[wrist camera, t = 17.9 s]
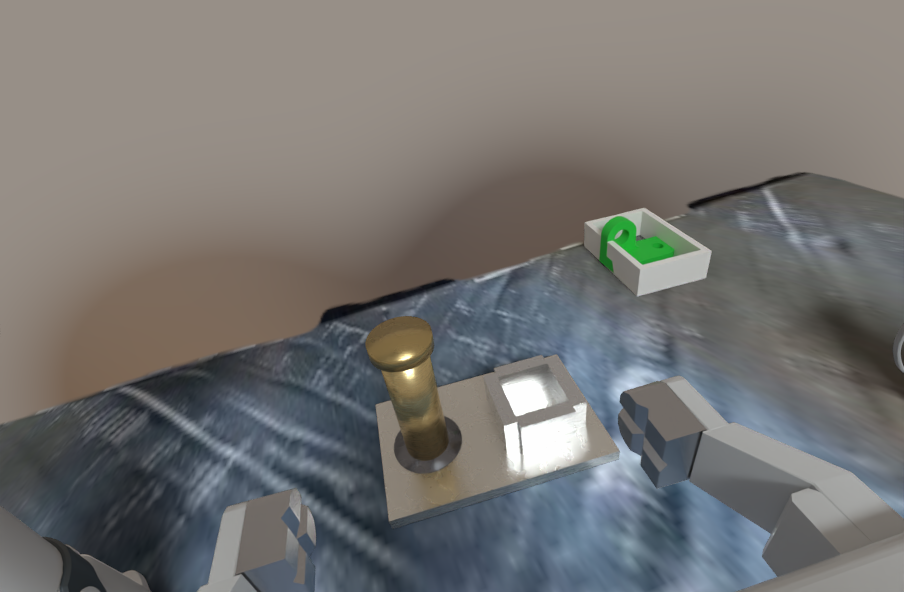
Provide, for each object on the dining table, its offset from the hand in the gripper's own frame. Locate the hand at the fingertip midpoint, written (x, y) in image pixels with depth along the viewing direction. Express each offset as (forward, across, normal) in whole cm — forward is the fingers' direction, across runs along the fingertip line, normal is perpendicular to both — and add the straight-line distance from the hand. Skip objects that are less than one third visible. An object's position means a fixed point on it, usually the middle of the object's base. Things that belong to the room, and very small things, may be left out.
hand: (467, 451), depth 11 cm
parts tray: (+53, -41, +35) cm, 76 cm away
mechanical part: (+53, -41, +35) cm, 76 cm away
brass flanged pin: (+27, +2, +33) cm, 43 cm away
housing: (+27, -5, +35) cm, 44 cm away
